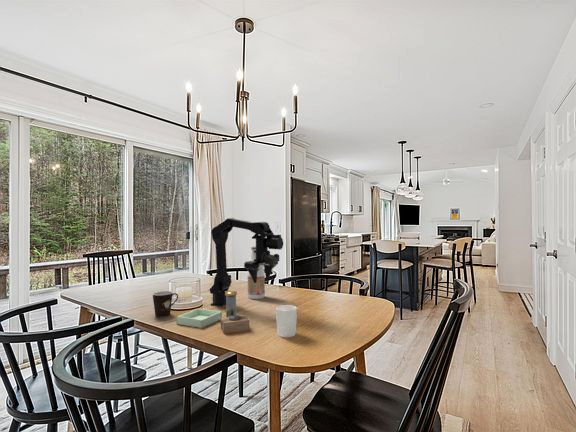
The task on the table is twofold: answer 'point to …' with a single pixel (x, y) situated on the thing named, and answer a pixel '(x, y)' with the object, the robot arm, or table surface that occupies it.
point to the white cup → (286, 320)
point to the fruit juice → (257, 288)
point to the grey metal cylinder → (230, 303)
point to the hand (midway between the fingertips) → (261, 281)
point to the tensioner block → (234, 324)
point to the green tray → (199, 318)
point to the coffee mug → (163, 303)
